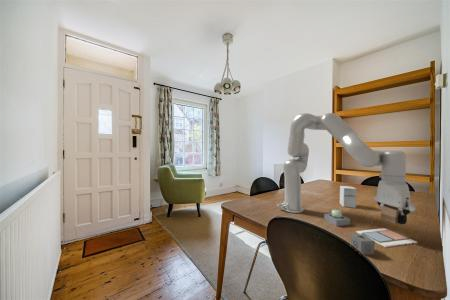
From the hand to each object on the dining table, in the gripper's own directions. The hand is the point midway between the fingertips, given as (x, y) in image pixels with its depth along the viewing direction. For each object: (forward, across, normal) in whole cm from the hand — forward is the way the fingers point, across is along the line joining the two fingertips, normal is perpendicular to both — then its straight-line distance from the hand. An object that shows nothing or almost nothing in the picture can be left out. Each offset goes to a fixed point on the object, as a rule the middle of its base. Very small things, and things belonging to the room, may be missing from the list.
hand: (393, 220), depth 75 cm
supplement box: (+7, -38, +17) cm, 42 cm away
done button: (+5, -17, -12) cm, 22 cm away
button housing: (+7, -17, -12) cm, 22 cm away
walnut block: (0, 0, 0) cm, 0 cm away
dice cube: (+8, +6, -23) cm, 25 cm away
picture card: (+7, 0, -4) cm, 8 cm away
